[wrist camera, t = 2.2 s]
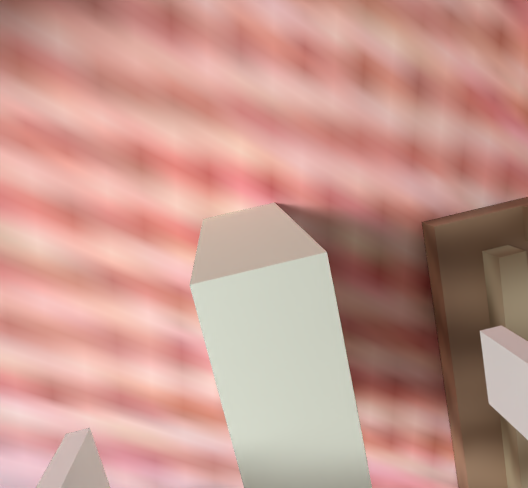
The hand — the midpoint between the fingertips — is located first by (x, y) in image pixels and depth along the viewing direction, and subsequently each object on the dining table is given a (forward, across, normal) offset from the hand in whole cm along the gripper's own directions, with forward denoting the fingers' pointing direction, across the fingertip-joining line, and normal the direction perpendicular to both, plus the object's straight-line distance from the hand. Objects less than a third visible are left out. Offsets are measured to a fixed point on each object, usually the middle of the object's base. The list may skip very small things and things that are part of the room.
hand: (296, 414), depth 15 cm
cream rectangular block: (+11, 0, 0) cm, 11 cm away
